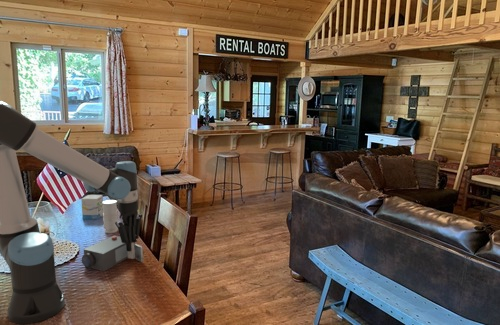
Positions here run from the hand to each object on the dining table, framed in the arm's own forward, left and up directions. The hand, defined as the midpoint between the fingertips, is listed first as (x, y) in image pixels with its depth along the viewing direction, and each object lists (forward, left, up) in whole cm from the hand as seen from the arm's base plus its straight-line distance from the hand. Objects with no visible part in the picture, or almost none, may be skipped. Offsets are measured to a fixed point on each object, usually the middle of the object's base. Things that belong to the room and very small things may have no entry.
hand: (131, 258), depth 147 cm
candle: (+23, +33, -2) cm, 41 cm away
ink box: (+35, +58, -2) cm, 68 cm away
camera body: (-3, +9, -2) cm, 10 cm away
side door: (+3, 0, -2) cm, 3 cm away
